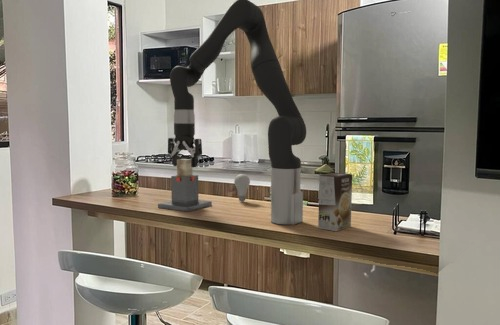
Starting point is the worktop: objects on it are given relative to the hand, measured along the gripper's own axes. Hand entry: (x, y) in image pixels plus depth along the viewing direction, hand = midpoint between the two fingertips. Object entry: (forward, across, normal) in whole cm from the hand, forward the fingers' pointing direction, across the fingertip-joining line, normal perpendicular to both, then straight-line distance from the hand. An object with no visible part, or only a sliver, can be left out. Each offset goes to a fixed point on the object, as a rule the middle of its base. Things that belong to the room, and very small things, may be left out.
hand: (184, 166), depth 166 cm
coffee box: (+15, -59, +2) cm, 61 cm away
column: (+13, 0, 0) cm, 13 cm away
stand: (+15, 0, 0) cm, 15 cm away
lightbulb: (+15, -13, -19) cm, 27 cm away
